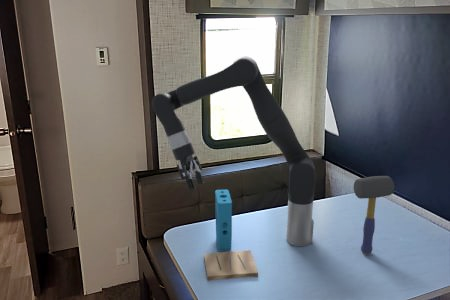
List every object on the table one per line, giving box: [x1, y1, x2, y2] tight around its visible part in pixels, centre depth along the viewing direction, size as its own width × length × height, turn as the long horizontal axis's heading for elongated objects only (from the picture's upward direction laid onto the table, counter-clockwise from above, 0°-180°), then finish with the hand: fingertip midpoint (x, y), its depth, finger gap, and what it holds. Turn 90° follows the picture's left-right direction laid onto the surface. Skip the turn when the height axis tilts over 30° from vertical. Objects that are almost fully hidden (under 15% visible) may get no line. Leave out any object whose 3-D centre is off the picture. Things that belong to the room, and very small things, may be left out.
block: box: [214, 189, 233, 251], centre depth 163 cm, size 12×5×20 cm, turn 6°
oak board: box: [203, 249, 259, 281], centre depth 151 cm, size 17×14×2 cm
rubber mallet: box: [353, 175, 395, 256], centre depth 155 cm, size 12×8×30 cm, turn 103°
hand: (197, 186), depth 160 cm, fingers open, 8 cm apart
